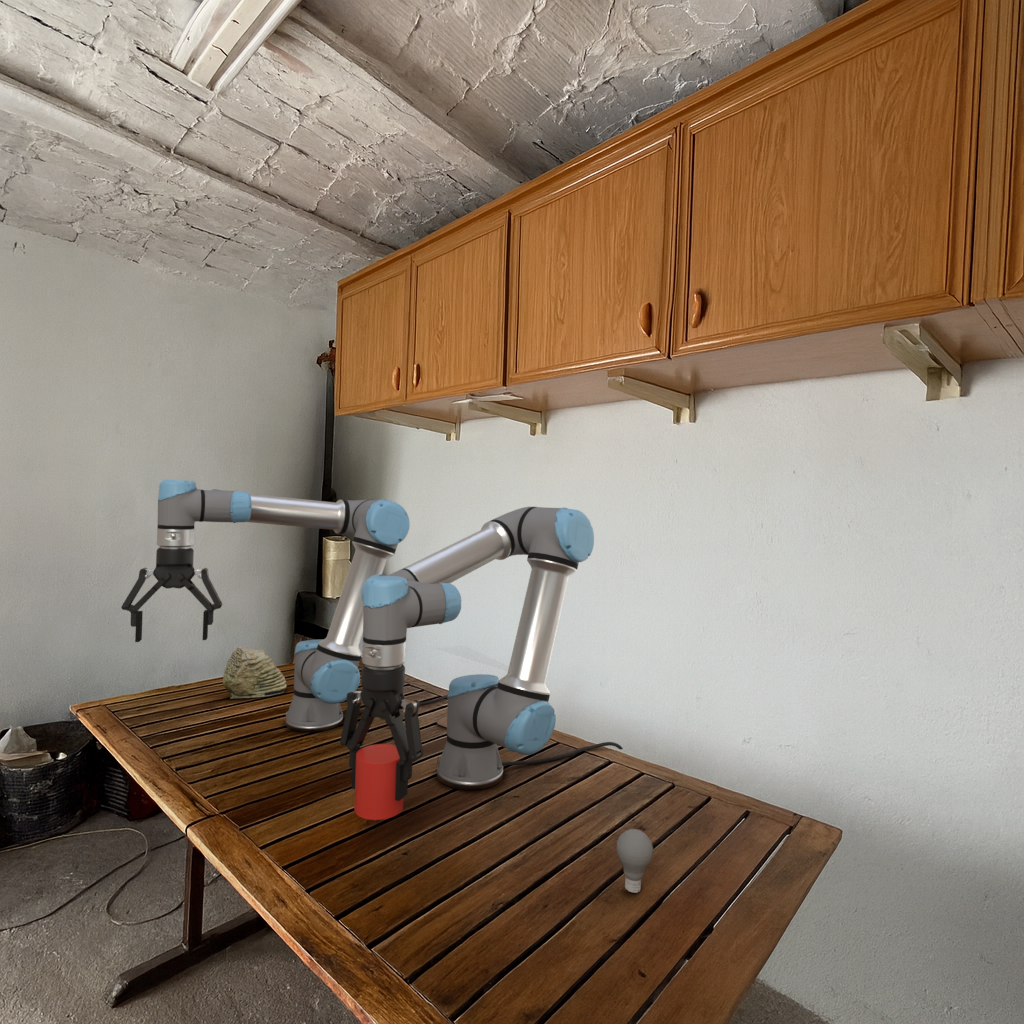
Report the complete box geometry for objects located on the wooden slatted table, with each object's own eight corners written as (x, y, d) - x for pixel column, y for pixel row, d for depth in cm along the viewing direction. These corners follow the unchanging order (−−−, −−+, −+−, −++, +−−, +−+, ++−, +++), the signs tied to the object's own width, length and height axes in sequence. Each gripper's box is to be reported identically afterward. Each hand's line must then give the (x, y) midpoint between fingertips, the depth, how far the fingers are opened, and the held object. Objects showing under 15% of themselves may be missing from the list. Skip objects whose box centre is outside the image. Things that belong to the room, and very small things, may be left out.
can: (381, 792, 118) (383, 740, 118) (412, 807, 113) (414, 752, 113) (344, 808, 112) (346, 753, 111) (375, 825, 106) (377, 767, 106)
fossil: (218, 695, 195) (220, 647, 195) (278, 685, 208) (279, 640, 207) (228, 703, 189) (230, 653, 188) (289, 692, 201) (290, 645, 201)
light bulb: (610, 879, 108) (613, 822, 108) (644, 879, 109) (647, 822, 109) (619, 902, 102) (622, 840, 102) (655, 901, 103) (658, 840, 103)
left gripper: (107, 547, 137) (104, 645, 137) (233, 549, 145) (230, 641, 146) (116, 545, 144) (113, 637, 144) (236, 546, 152) (232, 634, 153)
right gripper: (321, 661, 112) (317, 787, 113) (424, 678, 104) (420, 814, 105) (347, 652, 119) (343, 771, 120) (446, 668, 111) (442, 795, 111)
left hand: (172, 640), depth 145 cm, fingers open, 13 cm apart
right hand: (379, 791), depth 112 cm, fingers closed on can, 8 cm apart
